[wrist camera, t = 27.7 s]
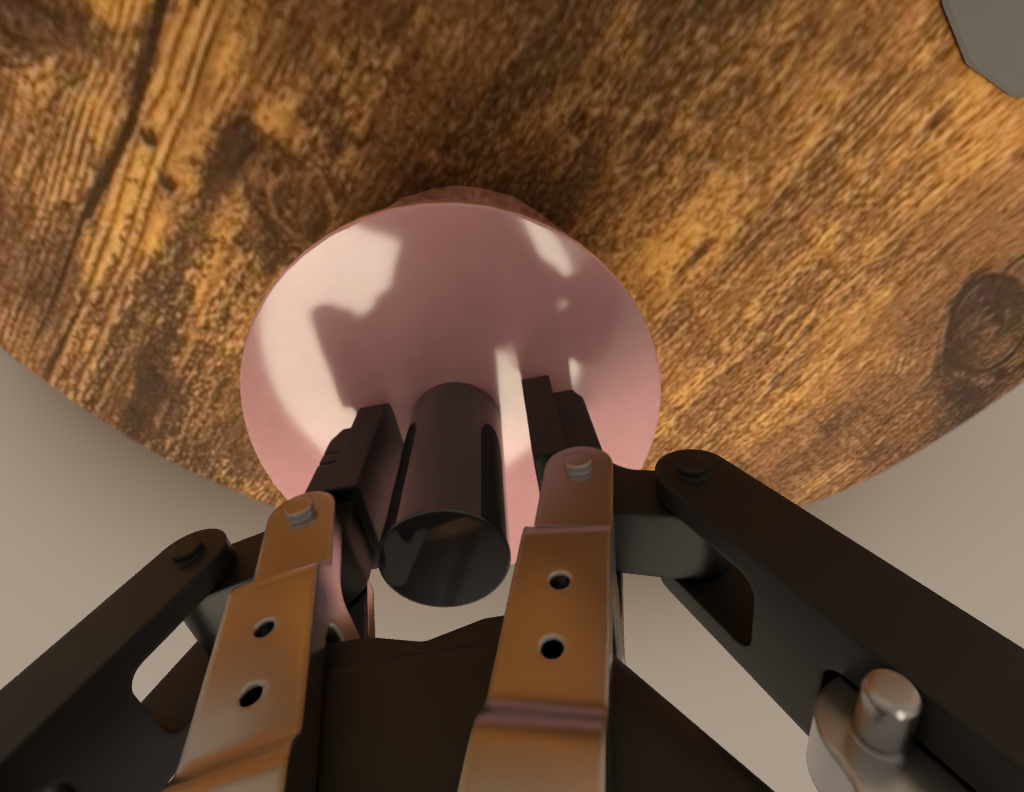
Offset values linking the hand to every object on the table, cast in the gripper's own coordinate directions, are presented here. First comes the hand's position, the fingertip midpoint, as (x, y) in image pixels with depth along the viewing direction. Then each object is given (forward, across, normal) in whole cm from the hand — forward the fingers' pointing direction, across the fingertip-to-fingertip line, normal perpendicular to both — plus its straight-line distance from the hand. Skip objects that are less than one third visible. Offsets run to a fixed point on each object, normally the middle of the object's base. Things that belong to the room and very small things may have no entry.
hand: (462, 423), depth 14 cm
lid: (+1, 0, 0) cm, 1 cm away
